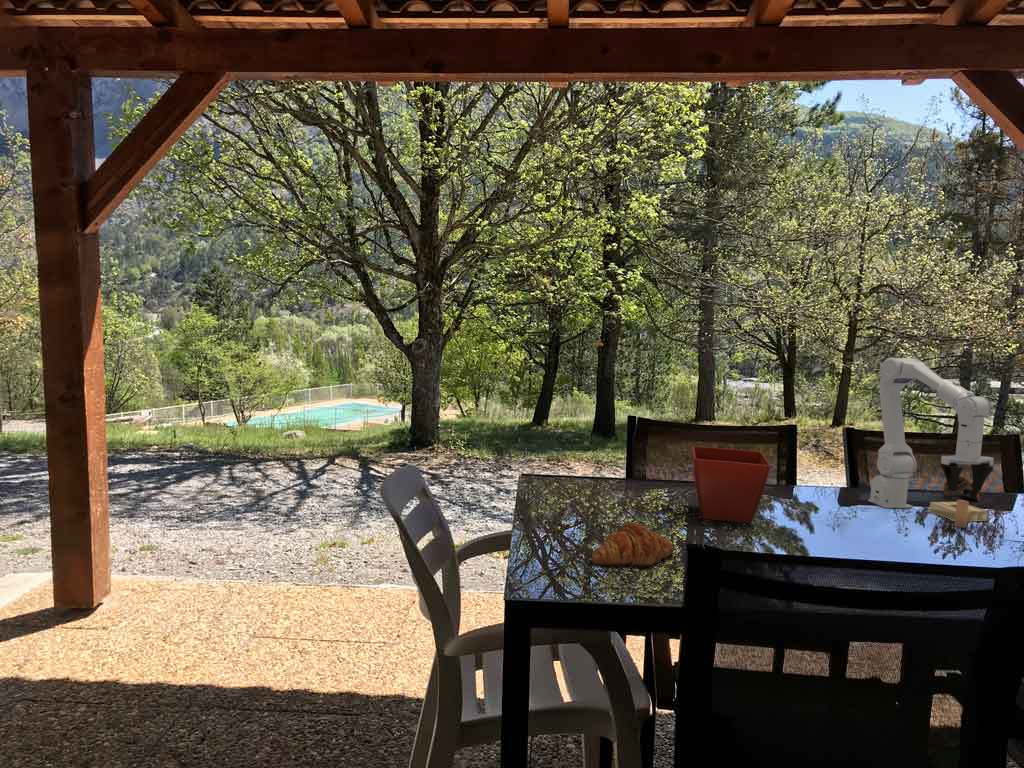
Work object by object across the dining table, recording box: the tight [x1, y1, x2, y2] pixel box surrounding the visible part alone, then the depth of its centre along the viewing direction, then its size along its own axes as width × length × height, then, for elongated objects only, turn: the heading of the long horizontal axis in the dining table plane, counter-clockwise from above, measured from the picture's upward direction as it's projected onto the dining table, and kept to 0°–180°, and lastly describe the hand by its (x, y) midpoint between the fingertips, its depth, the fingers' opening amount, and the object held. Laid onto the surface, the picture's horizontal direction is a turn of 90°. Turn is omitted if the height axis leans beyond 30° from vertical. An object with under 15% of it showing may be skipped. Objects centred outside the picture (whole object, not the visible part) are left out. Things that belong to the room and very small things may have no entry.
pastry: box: [590, 522, 675, 568], centre depth 164 cm, size 17×15×8 cm
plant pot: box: [691, 445, 771, 524], centre depth 203 cm, size 19×19×17 cm
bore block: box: [928, 501, 989, 523], centre depth 214 cm, size 10×10×3 cm
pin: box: [953, 499, 970, 529], centre depth 204 cm, size 3×3×7 cm
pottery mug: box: [943, 475, 981, 503], centre depth 238 cm, size 12×10×8 cm
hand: (964, 490), depth 203 cm, fingers open, 7 cm apart
